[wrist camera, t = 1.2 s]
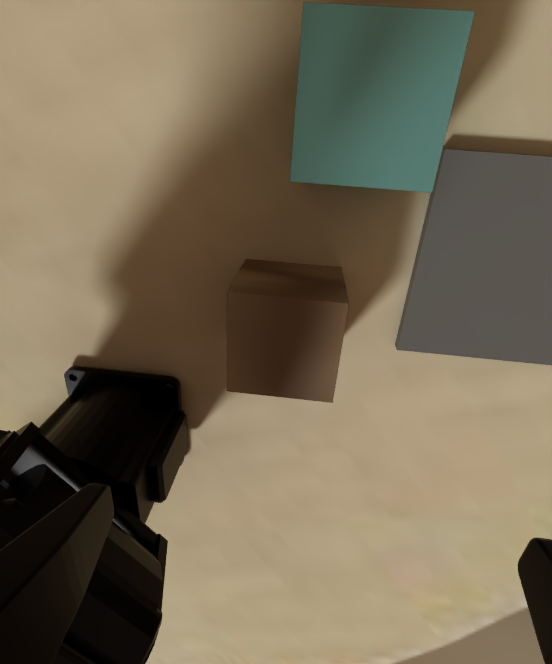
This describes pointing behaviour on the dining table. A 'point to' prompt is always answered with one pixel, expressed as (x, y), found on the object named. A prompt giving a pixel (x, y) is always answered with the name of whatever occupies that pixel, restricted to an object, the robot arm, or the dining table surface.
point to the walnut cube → (285, 329)
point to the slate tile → (484, 261)
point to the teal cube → (375, 94)
